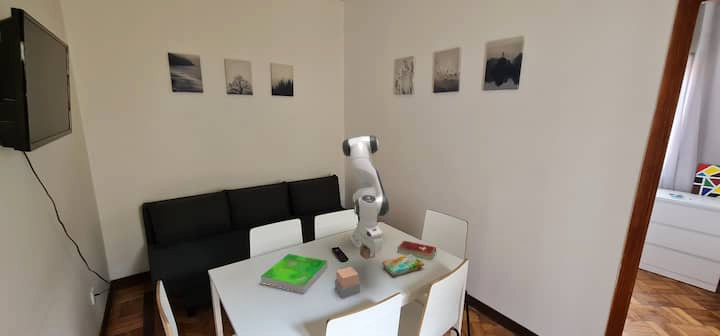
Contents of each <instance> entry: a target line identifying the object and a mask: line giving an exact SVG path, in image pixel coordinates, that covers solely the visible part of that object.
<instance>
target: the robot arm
mask: <svg viewBox="0 0 720 336" xmlns="http://www.w3.org/2000/svg"><path fill="white" fill-rule="evenodd" d="M379 145H380V143H379V139H378V138H377V137H376V136H375V135H369V136H368V135H366V136H365V135H364V136H363V135H362V136H356V137H353V138H347V139H345V140H343V141H342V144H341V150H342V153H343V155H344V156H345V157H349V158H350V168H351V171H352V172H353V174H354V175H356V178H357V180H358V181H360V183H361V185H362V188H359V189H358V190H356V191H355V192H354V193H353V194H352V201H353V203H354V207H353V208H354V209H353V213H354V214H355V215H356V216H357V217H359V221H358V222H357V224H356V227H355V230H353V234H352V236H350V237H349V240H350V241H351V243H352V244H353V245H354V247H355V248H358V249H360V246H362V245H365V246H367V247H368V248H369V249H370V252H369V256H370V257H372V256H373V253H375V254H377V253H380V252H382V250H383V238H382V236H383V230H381V228H380V226H379V225H378V217H384V216H385V215H386V214H388V212H389V211H390V204H389V200H388V198H387V195H386V193H385V189H384V186H383V183H382V180H381V177H380V174H379V171H378V170H377V169H376V168H374V164H373V162H374V161H373V158H372V155H374V154H375V153H376V152H378V150H379ZM371 154H372V155H371Z"/></svg>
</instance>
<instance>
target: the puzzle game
mask: <svg viewBox="0 0 720 336" xmlns="http://www.w3.org/2000/svg"><path fill="white" fill-rule="evenodd" d="M381 265H382V266H383V268H384V269H385V270H386V271H387V272H388V273H389V274H390V275H391V276H392V277H398V276H400V275H403V274H407V273H410V272H414V271H417V270H419V268H422V267H425V263H424V262H423V261H422V260H420V258H418V257H415V256H413V255H412V254H411V255H404V256H399V257H395V258H391V259H387V260H383V261H381Z"/></svg>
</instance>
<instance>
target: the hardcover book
mask: <svg viewBox="0 0 720 336" xmlns="http://www.w3.org/2000/svg"><path fill="white" fill-rule="evenodd" d="M396 249H397V253H398V254H402V255H404V256H407V255H411V254H412V255H413V256H415V257H416V258H417V259H423V260H428V261H431V260H432V258H433V257H434V255H435V254H436V253H437V247H436V246H433V245H432V246H431V245H428V244H422V243H418V242H417V243H416V242H412V241H409V240H402V242H401V243H400V244H399V245H398V246H397V247H396ZM435 252H436V253H435ZM434 253H435V254H434ZM432 256H433V257H432Z"/></svg>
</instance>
